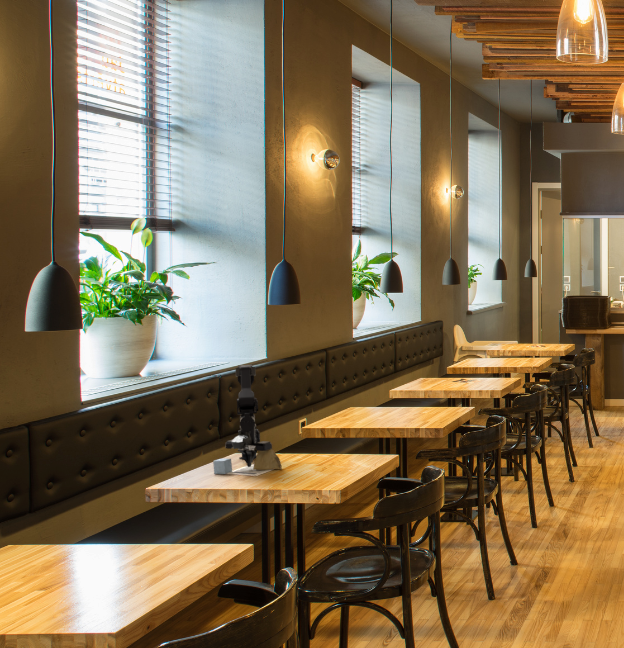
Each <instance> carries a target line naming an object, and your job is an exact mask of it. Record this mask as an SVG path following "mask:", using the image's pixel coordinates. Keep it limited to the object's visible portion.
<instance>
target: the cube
mask: <svg viewBox="0 0 624 648" xmlns="http://www.w3.org/2000/svg"><path fill="white" fill-rule="evenodd" d="M232 471H233V466H232V458H219V459H214V460H213V474H215V475H226V473H229V472H232Z"/></svg>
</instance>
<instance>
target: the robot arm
mask: <svg viewBox="0 0 624 648" xmlns="http://www.w3.org/2000/svg"><path fill="white" fill-rule="evenodd" d="M256 375H257V374H256V366H253V364H243V365H241V364H240V365H238V366H237V367H235V377H237V382H238V383H239V385H240V391H239V392H238V398H236V409H237V410H236V412H237V413H236V415H240V416H239V430H237V431H238V433H237V436H235V437H234V438H233V439H231V440H227V441H226V442H225V446H224V447H225V449H230V450H232V449H234V450H236V449H237V452H240V453H241V456H240V457H239V458H238V459H241V460H245V463H246V466H248V467H251V464H253V463H254V462H253V461H254V460H255V459H256V456H257V453H258V451H266V450H269V449H273V444H272V443H271V441H261V433H260V431H259V429H257V424H256V419H255V418H256V416H255V414H258V412H259V401H258V400H257V399H258V398H256V397H255V392H253V391H252V385H253V384H254V381H255V376H256Z"/></svg>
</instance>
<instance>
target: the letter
mask: <svg viewBox="0 0 624 648" xmlns="http://www.w3.org/2000/svg"><path fill="white" fill-rule="evenodd" d="M254 464H255V463H254ZM254 464H253V463H252V464H251V467H248V466H247V465H245V466H243V467H239V468H236V469H234V470H232V472H229V473H226V474H227V475H238V476H239V475H240V476H252V477H253V476H254V477H257V476H260V475H262V474H265V473H268V472H271V471H275V469H270V470H253V468H254ZM226 474H225V475H226Z"/></svg>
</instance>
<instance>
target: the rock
mask: <svg viewBox="0 0 624 648" xmlns="http://www.w3.org/2000/svg"><path fill="white" fill-rule="evenodd" d="M256 455H257V456H256V458H254V468H253V470H270V469H274V470H279V469H282V466H283V465H282V462H281V460H280V458H279V456H278V455H277V454H276V452H275V450H274V449H273V448H272V449H269V450H266V451H257V453H256Z"/></svg>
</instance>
